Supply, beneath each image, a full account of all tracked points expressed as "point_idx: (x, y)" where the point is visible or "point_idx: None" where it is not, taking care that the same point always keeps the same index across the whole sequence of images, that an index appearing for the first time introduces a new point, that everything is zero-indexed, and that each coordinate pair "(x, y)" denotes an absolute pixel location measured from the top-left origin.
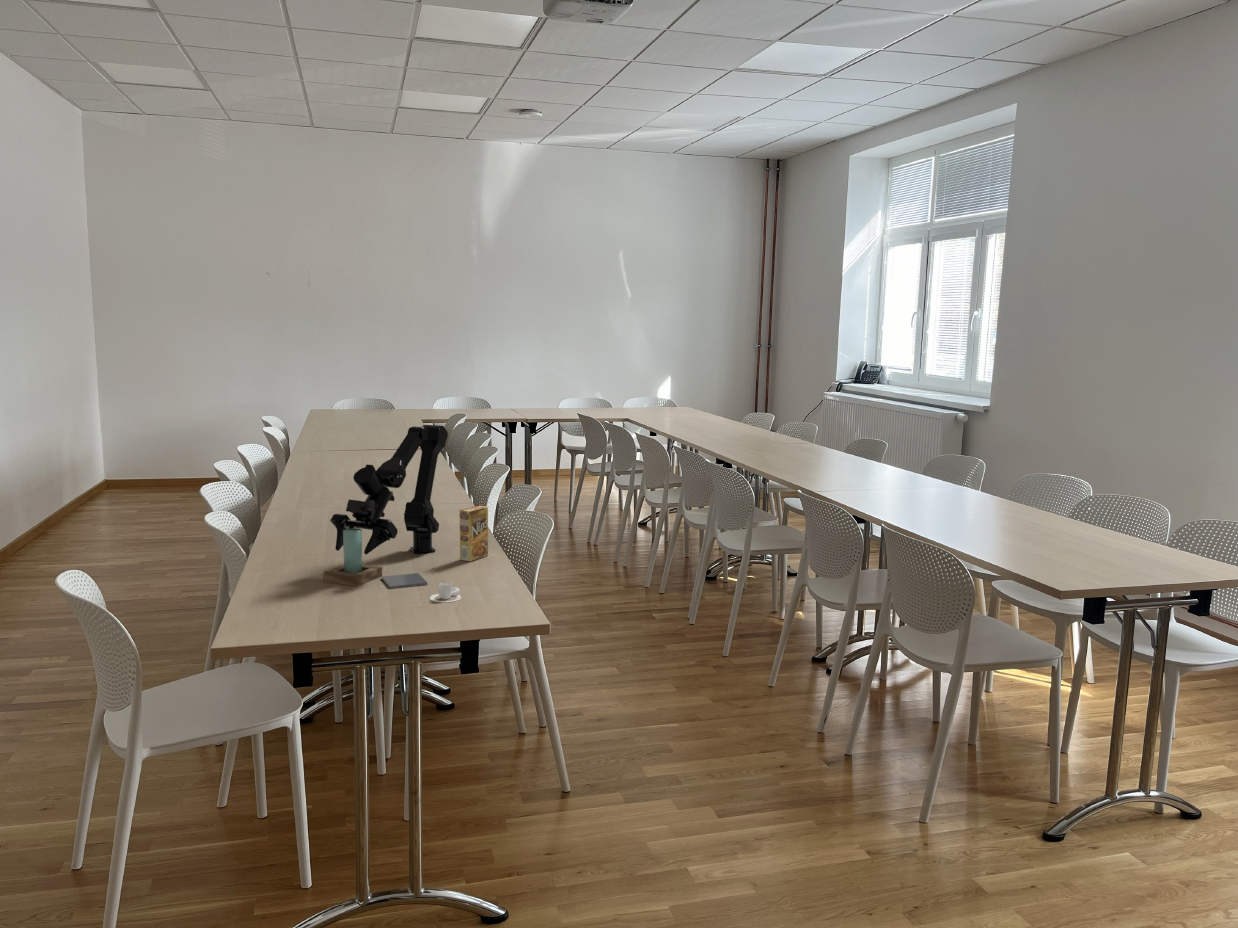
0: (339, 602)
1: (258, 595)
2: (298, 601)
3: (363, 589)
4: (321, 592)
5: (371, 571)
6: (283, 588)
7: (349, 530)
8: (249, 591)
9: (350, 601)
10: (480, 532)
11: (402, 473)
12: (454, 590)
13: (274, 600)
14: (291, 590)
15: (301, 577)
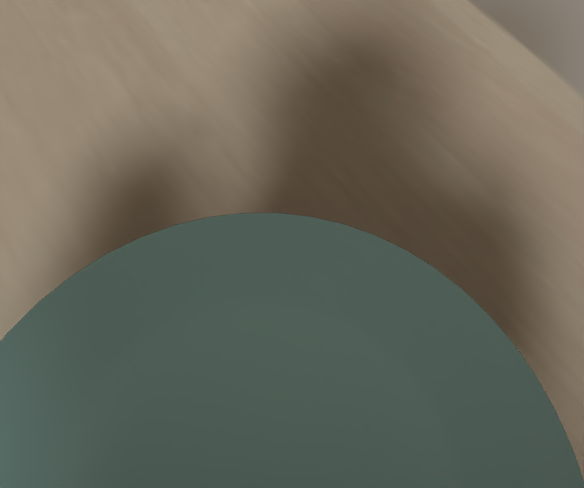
0: (59, 51)
1: (466, 53)
2: (257, 28)
3: (20, 267)
4: (243, 149)
5: None
6: (462, 152)
7: (349, 424)
8: (543, 84)
9: (7, 73)
10: None
11: None
12: None
13: (358, 21)
14: (404, 137)
15: (560, 352)
